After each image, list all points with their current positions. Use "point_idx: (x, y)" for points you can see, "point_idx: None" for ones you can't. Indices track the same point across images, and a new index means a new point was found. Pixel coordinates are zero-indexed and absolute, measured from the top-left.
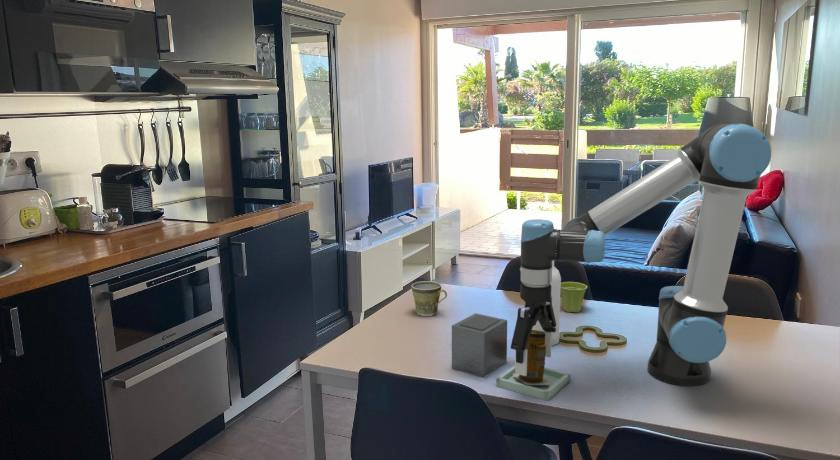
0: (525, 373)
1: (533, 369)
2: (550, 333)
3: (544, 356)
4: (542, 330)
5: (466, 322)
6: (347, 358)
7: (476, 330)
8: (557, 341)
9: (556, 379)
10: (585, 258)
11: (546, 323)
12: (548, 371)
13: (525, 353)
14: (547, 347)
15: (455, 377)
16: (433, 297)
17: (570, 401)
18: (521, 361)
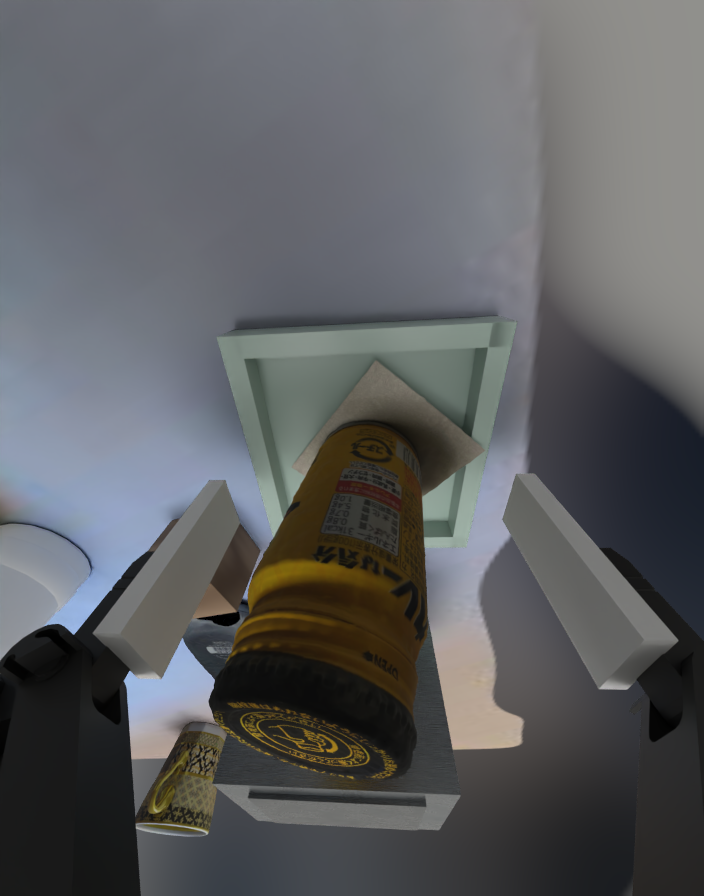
0: (542, 483)
1: (412, 479)
2: (116, 635)
3: (334, 496)
4: (23, 602)
5: (379, 826)
6: (478, 729)
7: (440, 806)
8: (4, 529)
9: (282, 384)
10: None
11: (85, 843)
12: (266, 439)
13: (651, 611)
14: (203, 535)
15: (459, 609)
16: (184, 788)
17: (446, 198)
18: (622, 562)
